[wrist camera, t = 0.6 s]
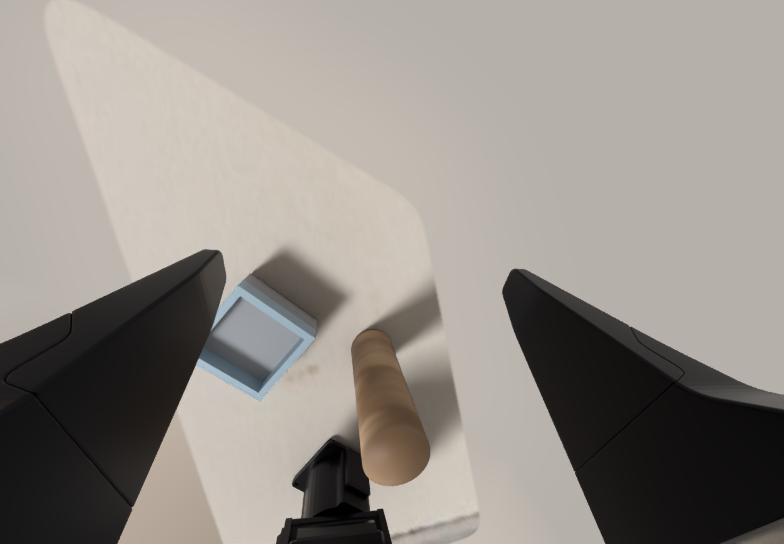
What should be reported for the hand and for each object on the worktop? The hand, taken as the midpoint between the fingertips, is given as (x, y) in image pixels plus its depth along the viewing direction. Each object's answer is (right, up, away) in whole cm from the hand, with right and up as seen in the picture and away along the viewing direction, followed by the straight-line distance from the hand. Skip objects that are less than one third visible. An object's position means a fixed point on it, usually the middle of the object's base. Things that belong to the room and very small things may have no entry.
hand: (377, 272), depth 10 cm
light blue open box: (-11, -5, +18) cm, 22 cm away
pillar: (-2, -8, +20) cm, 22 cm away
